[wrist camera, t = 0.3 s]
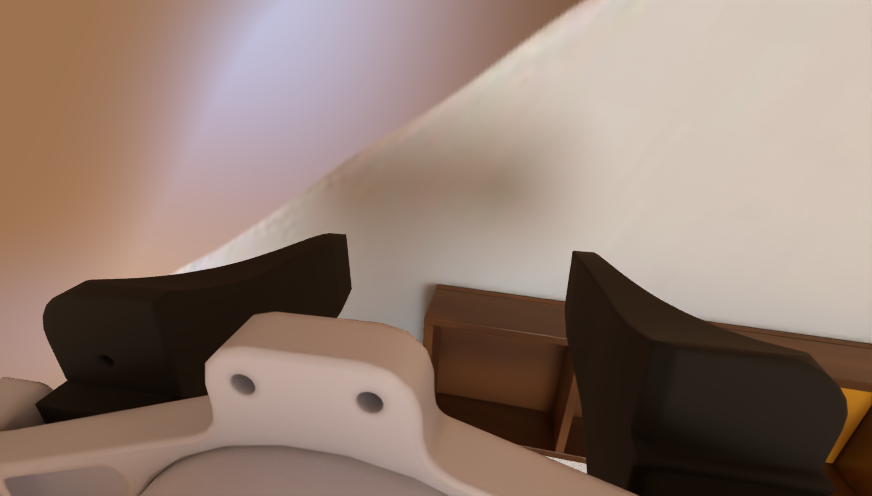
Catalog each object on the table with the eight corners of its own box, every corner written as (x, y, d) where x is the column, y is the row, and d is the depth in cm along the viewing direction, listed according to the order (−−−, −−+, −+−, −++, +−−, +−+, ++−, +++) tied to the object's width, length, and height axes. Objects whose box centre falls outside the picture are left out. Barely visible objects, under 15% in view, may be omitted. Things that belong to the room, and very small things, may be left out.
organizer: (831, 461, 25) (874, 519, 22) (430, 391, 29) (419, 432, 26) (906, 348, 22) (969, 398, 19) (436, 283, 25) (424, 316, 22)
